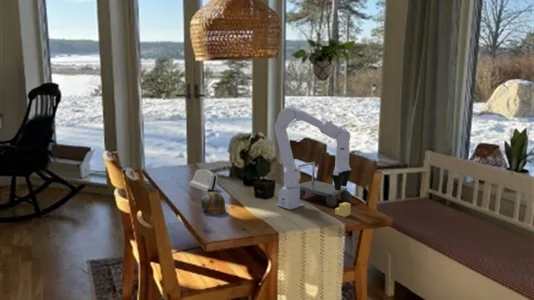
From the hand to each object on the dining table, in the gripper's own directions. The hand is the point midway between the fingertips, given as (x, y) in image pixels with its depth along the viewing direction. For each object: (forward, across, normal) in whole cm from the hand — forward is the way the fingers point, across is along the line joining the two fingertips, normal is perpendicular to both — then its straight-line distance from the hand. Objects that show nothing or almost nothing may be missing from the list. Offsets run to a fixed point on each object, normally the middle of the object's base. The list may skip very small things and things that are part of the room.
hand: (340, 188), depth 217 cm
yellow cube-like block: (+10, -6, -4) cm, 12 cm away
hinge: (+10, -2, +71) cm, 72 cm away
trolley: (+10, +10, +12) cm, 19 cm away
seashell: (+10, -31, +45) cm, 56 cm away
